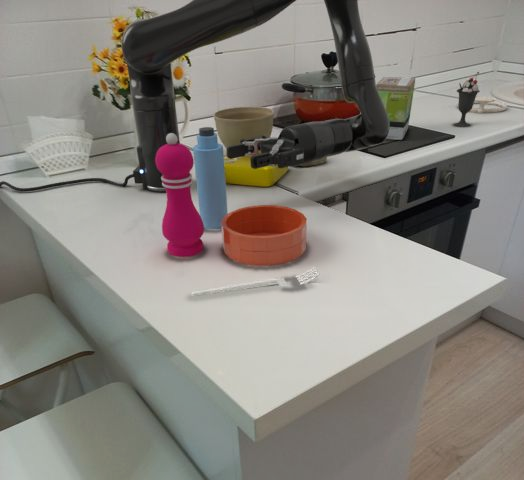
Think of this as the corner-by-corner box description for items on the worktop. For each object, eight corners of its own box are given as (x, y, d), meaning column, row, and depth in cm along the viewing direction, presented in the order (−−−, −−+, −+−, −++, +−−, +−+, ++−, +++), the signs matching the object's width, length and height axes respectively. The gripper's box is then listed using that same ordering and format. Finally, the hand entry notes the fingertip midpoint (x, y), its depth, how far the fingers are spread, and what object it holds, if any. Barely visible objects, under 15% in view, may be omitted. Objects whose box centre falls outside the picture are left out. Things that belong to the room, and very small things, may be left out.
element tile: (270, 188, 116) (270, 167, 113) (212, 182, 120) (210, 162, 118) (290, 169, 127) (290, 149, 124) (236, 164, 132) (235, 145, 129)
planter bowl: (225, 146, 147) (222, 106, 141) (279, 147, 144) (278, 106, 138) (209, 162, 135) (205, 118, 128) (268, 164, 132) (267, 119, 125)
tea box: (403, 140, 147) (411, 84, 138) (369, 138, 150) (374, 83, 141) (408, 129, 158) (416, 76, 150) (376, 127, 161) (382, 75, 152)
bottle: (198, 231, 97) (188, 132, 86) (204, 220, 101) (194, 125, 90) (226, 231, 96) (218, 132, 86) (230, 220, 100) (223, 125, 90)
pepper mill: (171, 264, 85) (153, 141, 74) (161, 248, 91) (142, 131, 79) (211, 256, 88) (200, 135, 76) (199, 240, 93) (186, 125, 81)
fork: (190, 292, 77) (189, 282, 76) (314, 275, 81) (314, 265, 80) (193, 303, 75) (191, 292, 74) (320, 285, 78) (320, 274, 77)
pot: (217, 267, 84) (214, 237, 81) (230, 232, 96) (228, 204, 92) (304, 269, 83) (305, 238, 79) (306, 233, 94) (307, 205, 91)
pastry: (302, 169, 127) (302, 154, 124) (285, 164, 131) (284, 149, 129) (328, 162, 131) (329, 147, 129) (311, 157, 136) (311, 142, 133)
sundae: (477, 125, 160) (488, 72, 151) (463, 128, 157) (474, 74, 148) (460, 121, 164) (470, 70, 155) (446, 124, 161) (455, 72, 152)
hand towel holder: (510, 91, 182) (509, 102, 166) (507, 104, 184) (506, 116, 169) (461, 89, 187) (456, 99, 172) (459, 102, 190) (453, 113, 174)
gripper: (285, 117, 104) (218, 130, 97) (330, 129, 95) (259, 144, 87) (285, 155, 109) (221, 169, 101) (328, 170, 99) (261, 187, 92)
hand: (239, 157), depth 94 cm, fingers open, 8 cm apart
